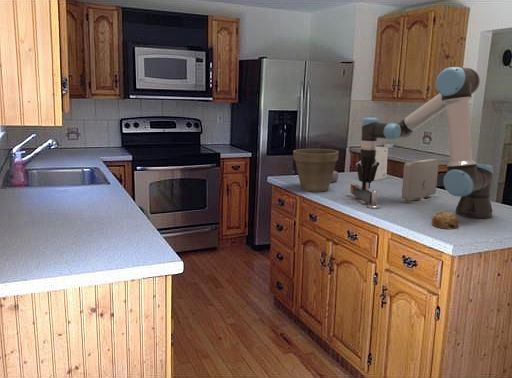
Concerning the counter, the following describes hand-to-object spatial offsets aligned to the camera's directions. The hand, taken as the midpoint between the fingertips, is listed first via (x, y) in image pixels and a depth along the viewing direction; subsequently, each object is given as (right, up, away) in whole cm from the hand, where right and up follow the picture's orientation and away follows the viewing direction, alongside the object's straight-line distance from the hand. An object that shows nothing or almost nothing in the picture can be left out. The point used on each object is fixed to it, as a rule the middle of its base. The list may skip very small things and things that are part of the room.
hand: (365, 194), depth 239 cm
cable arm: (-3, -1, -4) cm, 5 cm away
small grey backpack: (-16, +7, +46) cm, 49 cm away
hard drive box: (+19, +9, +58) cm, 62 cm away
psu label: (-4, -1, +4) cm, 6 cm away
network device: (+27, -3, 0) cm, 27 cm away
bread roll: (+21, -12, -47) cm, 53 cm away
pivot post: (0, -6, -17) cm, 18 cm away
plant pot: (-23, +3, +23) cm, 33 cm away
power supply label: (-2, -4, -8) cm, 9 cm away
